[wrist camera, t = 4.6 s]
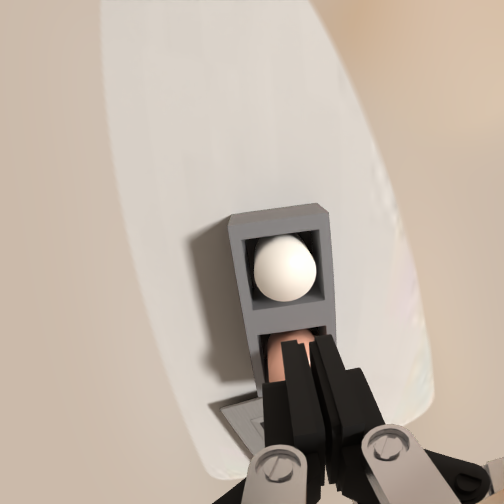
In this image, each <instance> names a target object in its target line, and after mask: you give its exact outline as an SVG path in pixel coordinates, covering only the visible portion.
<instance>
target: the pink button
mask: <svg viewBox="0 0 504 504" xmlns="http://www.w3.org/2000/svg"><path fill="white" fill-rule="evenodd" d="M314 337H316V336H315V334H314V332H313V331H312V330H311V329H309V328H305V329H299V330H292V331H285V332H277V333H272V334H271V335H270V337H269V339H268V342H267V356H268V372H269V382H277V381H284V380H285V374H284V366H283V358H282V350H281V342H283V341H290V340H296V339H297V342H298V344H299V343H304V345H305V348H306V352H307V356H308V360H309V364H310V355H309V342H312V341H314Z"/></svg>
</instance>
